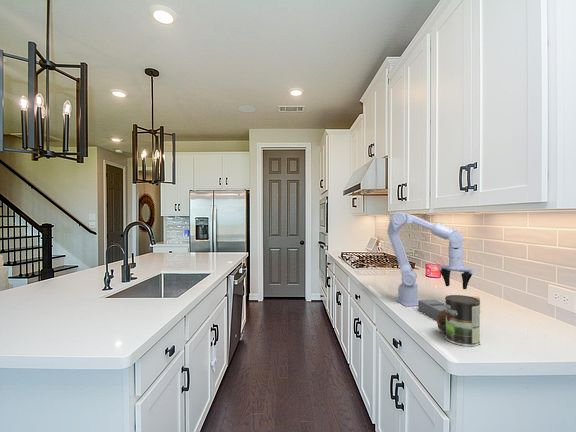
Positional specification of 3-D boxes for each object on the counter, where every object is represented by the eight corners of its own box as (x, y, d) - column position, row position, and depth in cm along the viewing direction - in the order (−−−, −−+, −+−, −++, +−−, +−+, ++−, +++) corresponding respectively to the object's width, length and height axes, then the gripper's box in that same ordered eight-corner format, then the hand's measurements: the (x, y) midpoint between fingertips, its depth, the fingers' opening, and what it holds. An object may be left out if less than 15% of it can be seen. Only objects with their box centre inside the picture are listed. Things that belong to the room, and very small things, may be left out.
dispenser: (436, 309, 142) (436, 299, 142) (459, 321, 126) (459, 309, 126) (418, 310, 141) (418, 300, 141) (439, 322, 125) (439, 310, 125)
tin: (441, 335, 111) (441, 311, 111) (435, 332, 114) (435, 309, 114) (476, 330, 115) (475, 307, 115) (469, 327, 118) (468, 305, 118)
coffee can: (457, 347, 101) (456, 303, 101) (439, 335, 111) (439, 295, 111) (488, 346, 102) (487, 302, 102) (467, 334, 112) (467, 294, 112)
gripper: (435, 256, 146) (435, 285, 146) (468, 259, 135) (468, 291, 135) (443, 255, 150) (443, 283, 150) (475, 258, 139) (476, 289, 139)
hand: (456, 287), depth 143 cm, fingers open, 7 cm apart
